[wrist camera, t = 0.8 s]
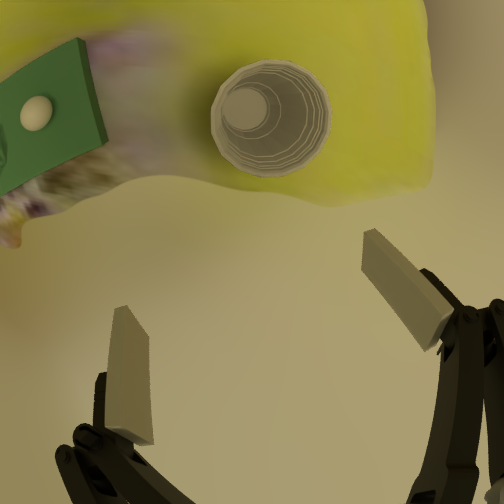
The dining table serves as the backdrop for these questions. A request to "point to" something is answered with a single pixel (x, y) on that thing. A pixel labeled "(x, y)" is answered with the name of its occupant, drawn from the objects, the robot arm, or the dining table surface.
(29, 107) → the ball
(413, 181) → the dining table surface
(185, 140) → the dining table surface
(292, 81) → the plastic cup
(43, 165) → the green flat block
